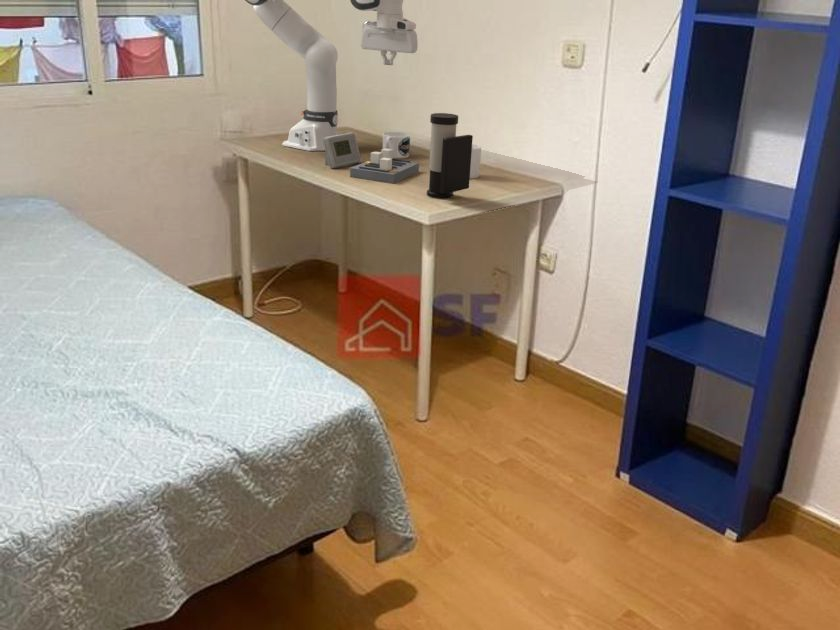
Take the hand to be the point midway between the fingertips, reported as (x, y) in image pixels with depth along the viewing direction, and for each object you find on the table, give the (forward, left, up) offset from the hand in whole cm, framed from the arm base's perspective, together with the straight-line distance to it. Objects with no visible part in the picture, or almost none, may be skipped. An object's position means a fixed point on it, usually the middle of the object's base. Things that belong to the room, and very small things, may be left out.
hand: (388, 64), depth 282 cm
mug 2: (+31, -2, -34) cm, 46 cm away
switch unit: (+8, -16, -34) cm, 39 cm away
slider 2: (+5, -9, -31) cm, 33 cm away
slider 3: (+11, -23, -31) cm, 40 cm away
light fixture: (+36, -33, -34) cm, 60 cm away
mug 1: (-2, +12, -34) cm, 37 cm away
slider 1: (+4, -16, -31) cm, 35 cm away
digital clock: (-11, -12, -34) cm, 38 cm away
